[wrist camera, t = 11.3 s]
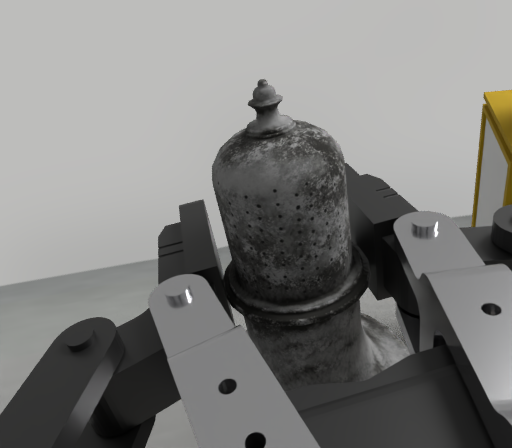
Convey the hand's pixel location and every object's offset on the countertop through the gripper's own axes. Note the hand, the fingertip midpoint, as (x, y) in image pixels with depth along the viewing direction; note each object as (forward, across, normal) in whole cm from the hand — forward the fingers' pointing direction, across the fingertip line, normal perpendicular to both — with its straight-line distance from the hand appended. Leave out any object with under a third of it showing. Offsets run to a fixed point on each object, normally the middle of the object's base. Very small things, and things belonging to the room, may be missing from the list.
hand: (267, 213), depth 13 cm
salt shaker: (-3, 0, +8) cm, 8 cm away
